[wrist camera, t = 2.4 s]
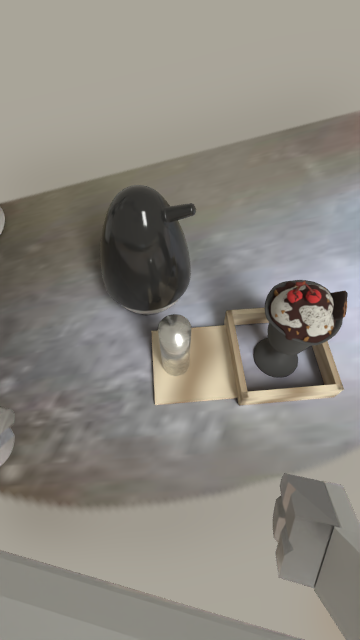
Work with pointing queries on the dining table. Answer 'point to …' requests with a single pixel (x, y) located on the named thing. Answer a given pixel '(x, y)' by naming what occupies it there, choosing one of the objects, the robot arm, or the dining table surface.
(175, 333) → the wooden frame tray
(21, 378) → the dining table surface
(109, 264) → the pump dispenser
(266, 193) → the dining table surface
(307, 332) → the sundae
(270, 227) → the dining table surface
